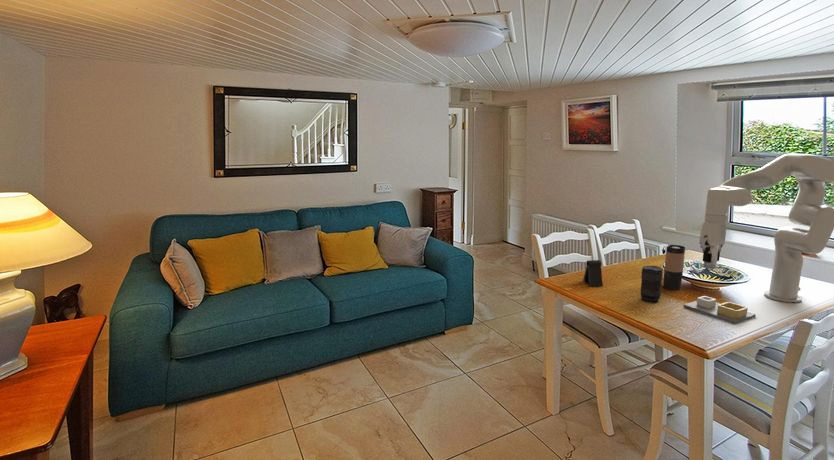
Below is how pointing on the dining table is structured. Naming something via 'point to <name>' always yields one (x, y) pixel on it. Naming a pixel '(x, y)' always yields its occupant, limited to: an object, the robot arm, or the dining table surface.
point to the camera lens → (651, 283)
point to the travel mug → (674, 267)
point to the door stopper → (593, 273)
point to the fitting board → (720, 310)
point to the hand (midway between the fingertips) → (710, 260)
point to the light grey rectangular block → (713, 259)
